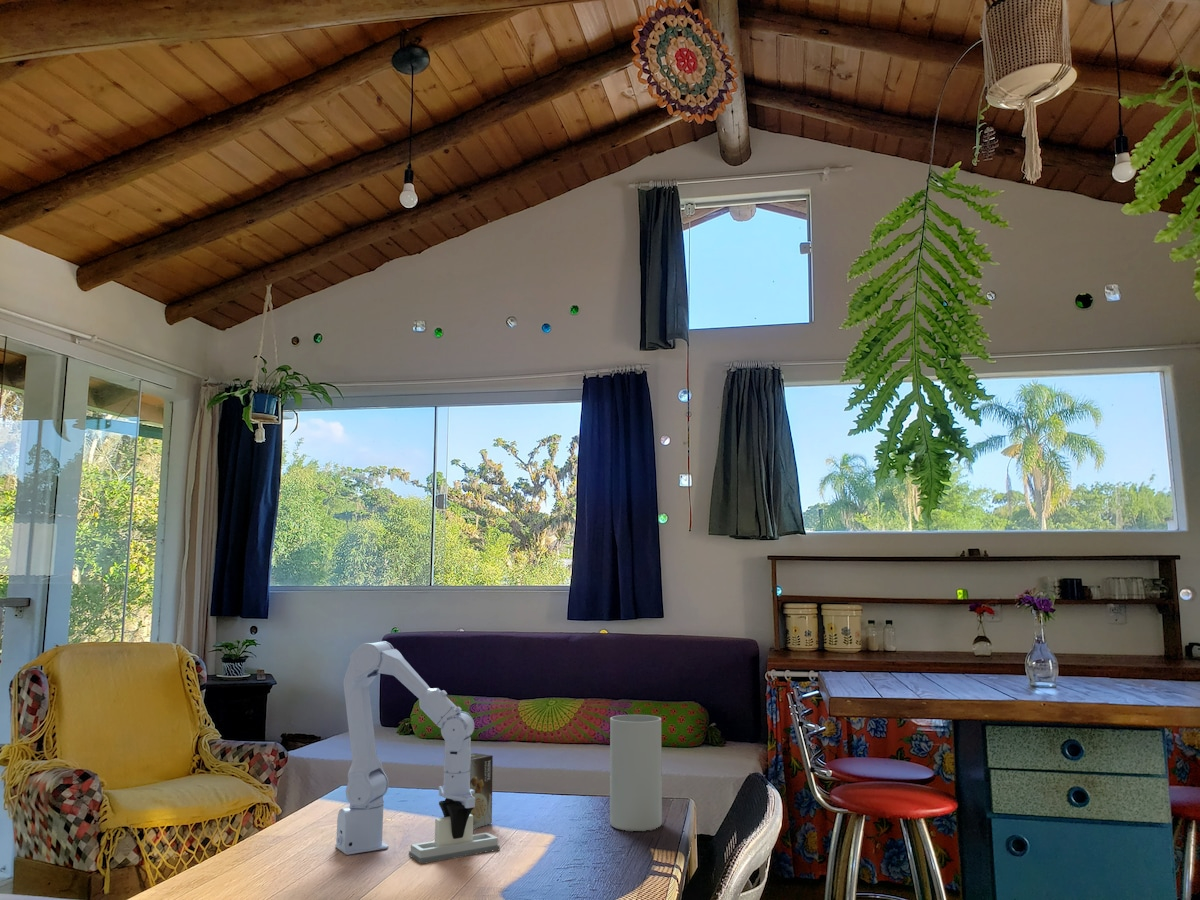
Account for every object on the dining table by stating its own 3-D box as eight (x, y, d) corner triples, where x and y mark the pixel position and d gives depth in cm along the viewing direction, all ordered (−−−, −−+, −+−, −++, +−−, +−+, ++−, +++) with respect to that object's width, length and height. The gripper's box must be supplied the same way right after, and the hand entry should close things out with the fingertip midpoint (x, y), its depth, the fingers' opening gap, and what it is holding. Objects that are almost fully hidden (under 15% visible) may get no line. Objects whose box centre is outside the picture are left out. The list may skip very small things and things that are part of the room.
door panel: (438, 852, 189) (439, 820, 190) (434, 850, 191) (435, 818, 192) (472, 847, 193) (473, 815, 194) (468, 844, 195) (469, 813, 196)
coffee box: (473, 820, 219) (475, 752, 222) (492, 824, 215) (494, 755, 218) (446, 827, 212) (448, 757, 214) (465, 832, 208) (466, 760, 210)
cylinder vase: (663, 832, 208) (662, 722, 212) (609, 832, 209) (610, 721, 213) (660, 819, 221) (660, 714, 225) (610, 818, 221) (610, 714, 225)
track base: (421, 863, 184) (422, 851, 185) (409, 855, 190) (409, 843, 190) (499, 849, 194) (499, 838, 195) (485, 842, 200) (485, 831, 200)
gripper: (488, 774, 191) (487, 841, 189) (459, 763, 203) (458, 826, 201) (458, 778, 187) (456, 846, 185) (430, 766, 199) (428, 830, 197)
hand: (455, 836), depth 193 cm, fingers closed on door panel, 2 cm apart
